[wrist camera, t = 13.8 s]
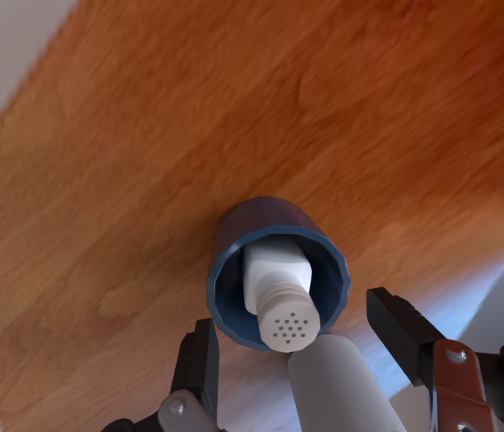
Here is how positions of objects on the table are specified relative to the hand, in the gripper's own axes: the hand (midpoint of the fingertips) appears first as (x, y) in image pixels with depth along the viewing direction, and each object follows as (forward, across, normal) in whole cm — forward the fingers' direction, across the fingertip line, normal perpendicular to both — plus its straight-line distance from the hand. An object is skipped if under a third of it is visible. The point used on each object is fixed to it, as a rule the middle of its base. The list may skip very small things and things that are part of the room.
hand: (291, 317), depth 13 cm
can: (+10, -4, +14) cm, 18 cm away
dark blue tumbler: (+10, 0, +1) cm, 10 cm away
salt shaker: (+10, 0, +1) cm, 10 cm away
